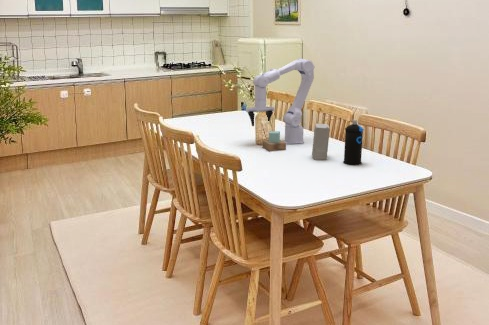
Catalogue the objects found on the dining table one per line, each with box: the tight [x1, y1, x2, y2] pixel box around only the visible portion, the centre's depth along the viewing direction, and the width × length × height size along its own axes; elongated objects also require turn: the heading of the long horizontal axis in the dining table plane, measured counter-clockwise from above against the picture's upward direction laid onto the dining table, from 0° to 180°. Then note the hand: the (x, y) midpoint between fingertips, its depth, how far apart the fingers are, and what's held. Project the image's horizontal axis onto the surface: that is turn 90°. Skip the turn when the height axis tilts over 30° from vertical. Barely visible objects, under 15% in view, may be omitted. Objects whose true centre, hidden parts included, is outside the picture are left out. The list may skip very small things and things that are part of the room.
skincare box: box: [311, 123, 331, 161], centre depth 247 cm, size 8×7×16 cm
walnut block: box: [262, 139, 287, 153], centre depth 266 cm, size 9×9×4 cm
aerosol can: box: [342, 119, 365, 166], centre depth 238 cm, size 8×8×20 cm
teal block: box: [268, 130, 281, 143], centre depth 265 cm, size 5×5×5 cm
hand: (260, 125), depth 271 cm, fingers open, 7 cm apart
